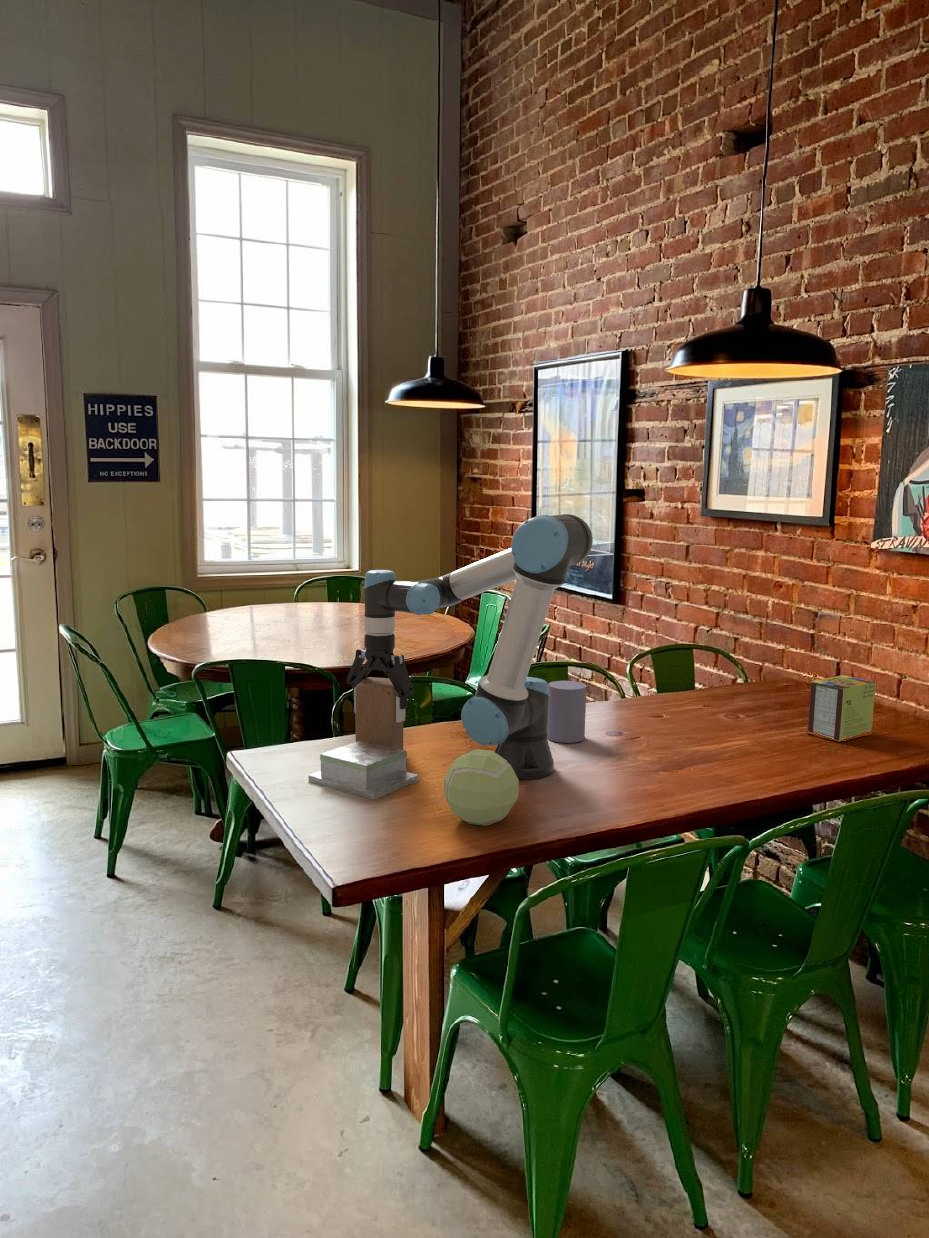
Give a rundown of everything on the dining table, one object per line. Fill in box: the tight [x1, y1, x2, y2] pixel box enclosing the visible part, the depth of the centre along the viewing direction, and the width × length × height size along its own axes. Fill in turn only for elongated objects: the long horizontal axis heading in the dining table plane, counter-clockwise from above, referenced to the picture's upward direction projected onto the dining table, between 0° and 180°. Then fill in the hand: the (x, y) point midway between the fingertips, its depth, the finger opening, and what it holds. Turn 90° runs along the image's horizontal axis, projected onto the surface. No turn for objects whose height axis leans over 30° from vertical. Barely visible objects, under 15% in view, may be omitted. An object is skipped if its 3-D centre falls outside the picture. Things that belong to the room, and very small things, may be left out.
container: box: [547, 680, 587, 744], centre depth 254 cm, size 10×10×15 cm
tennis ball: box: [443, 748, 520, 827], centre depth 193 cm, size 15×15×15 cm
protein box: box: [807, 674, 877, 741], centre depth 261 cm, size 10×15×16 cm
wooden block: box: [354, 676, 404, 750], centre depth 233 cm, size 10×10×20 cm
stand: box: [308, 740, 419, 801], centre depth 218 cm, size 20×16×7 cm
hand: (379, 716), depth 233 cm, fingers open, 13 cm apart
